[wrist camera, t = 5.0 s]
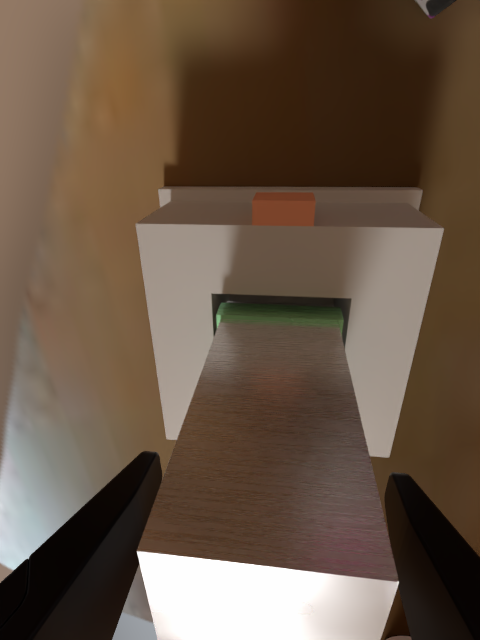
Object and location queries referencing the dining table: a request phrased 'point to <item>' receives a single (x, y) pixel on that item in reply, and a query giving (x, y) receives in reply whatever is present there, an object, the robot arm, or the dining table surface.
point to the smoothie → (400, 638)
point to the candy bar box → (433, 6)
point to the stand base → (291, 280)
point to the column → (270, 492)
